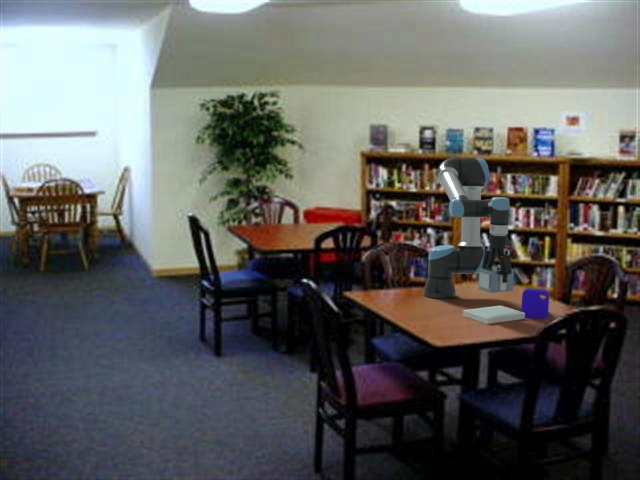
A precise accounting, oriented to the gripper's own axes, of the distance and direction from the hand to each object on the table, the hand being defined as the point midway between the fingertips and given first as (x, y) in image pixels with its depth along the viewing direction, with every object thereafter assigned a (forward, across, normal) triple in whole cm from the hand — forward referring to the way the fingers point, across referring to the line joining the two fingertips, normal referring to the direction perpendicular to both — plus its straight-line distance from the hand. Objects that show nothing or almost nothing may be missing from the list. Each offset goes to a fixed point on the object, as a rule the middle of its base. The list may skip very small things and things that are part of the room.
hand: (495, 288), depth 358 cm
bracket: (+13, +2, +22) cm, 26 cm away
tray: (+13, 0, 0) cm, 13 cm away
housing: (+1, 0, 0) cm, 1 cm away
